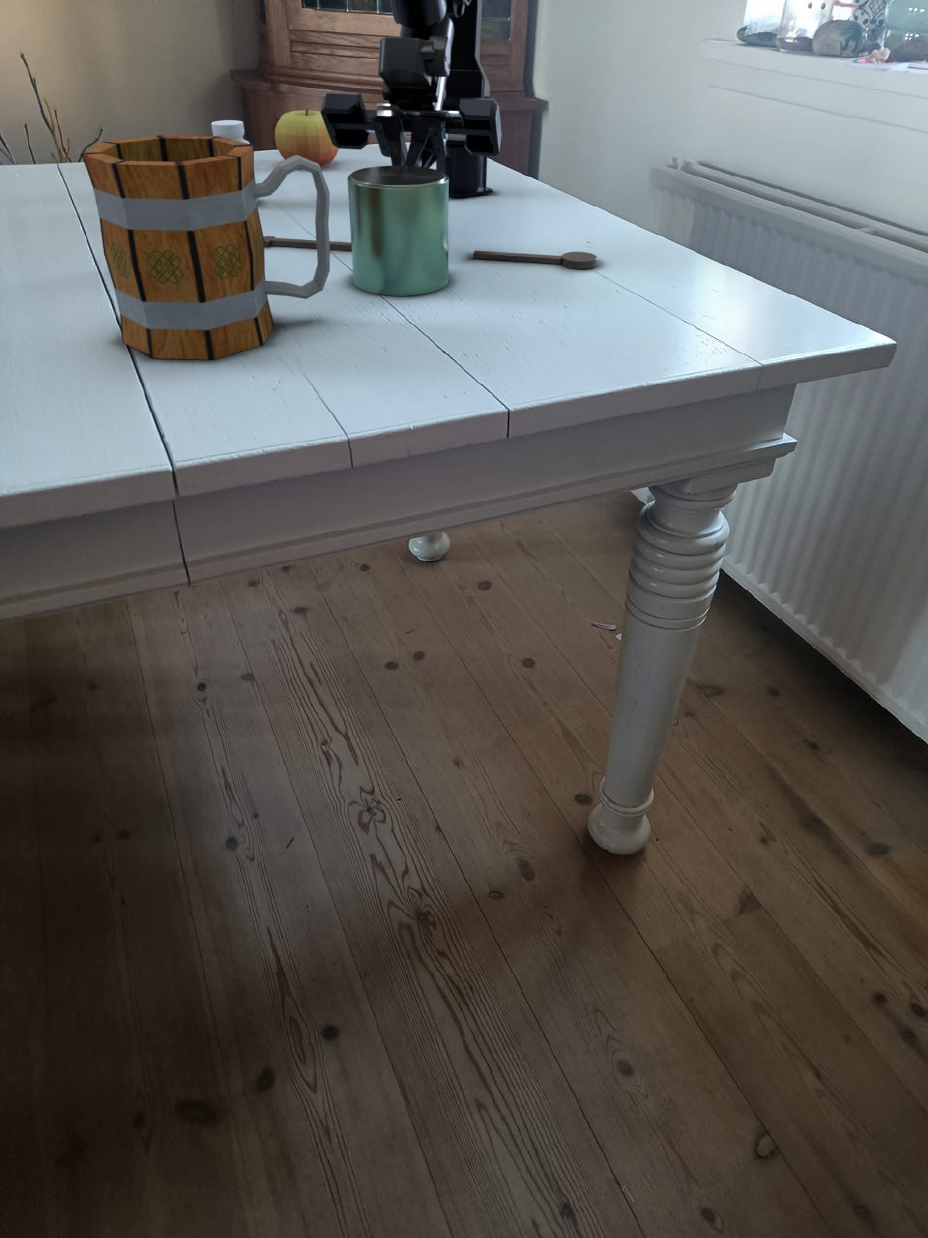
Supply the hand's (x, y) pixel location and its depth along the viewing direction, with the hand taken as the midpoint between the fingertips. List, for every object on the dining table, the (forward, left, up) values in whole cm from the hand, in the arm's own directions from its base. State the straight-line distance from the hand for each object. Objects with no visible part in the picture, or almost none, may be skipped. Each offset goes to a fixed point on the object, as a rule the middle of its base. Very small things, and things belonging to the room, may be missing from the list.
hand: (400, 195), depth 94 cm
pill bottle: (+4, -36, -7) cm, 37 cm away
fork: (+6, -14, -7) cm, 16 cm away
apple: (-16, -54, -7) cm, 57 cm away
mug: (+24, +9, -7) cm, 26 cm away
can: (+3, +4, -7) cm, 9 cm away
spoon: (-14, +6, -7) cm, 17 cm away
